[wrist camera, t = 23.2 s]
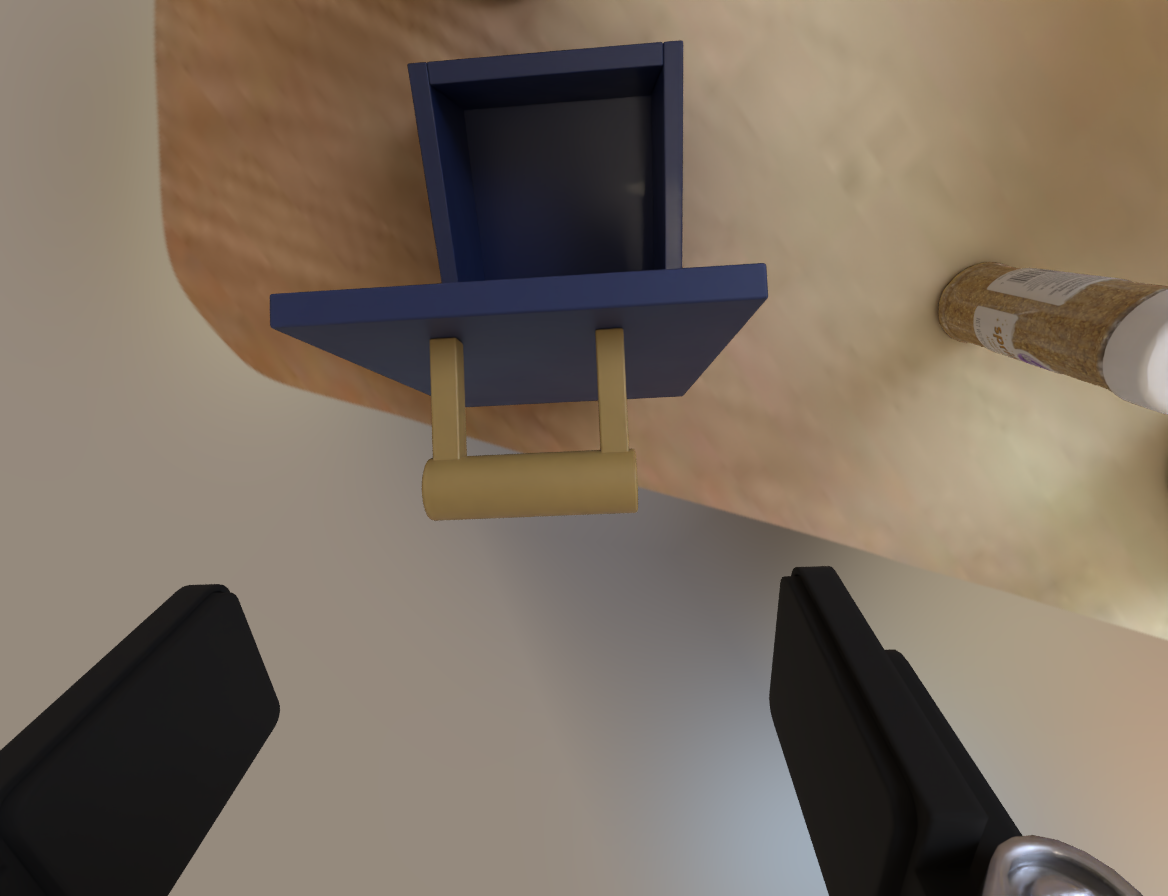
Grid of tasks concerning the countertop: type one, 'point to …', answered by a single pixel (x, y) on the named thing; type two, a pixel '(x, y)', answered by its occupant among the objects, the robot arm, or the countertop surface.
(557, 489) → the case lid
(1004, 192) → the countertop surface
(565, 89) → the case
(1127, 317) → the sprinkles bottle
